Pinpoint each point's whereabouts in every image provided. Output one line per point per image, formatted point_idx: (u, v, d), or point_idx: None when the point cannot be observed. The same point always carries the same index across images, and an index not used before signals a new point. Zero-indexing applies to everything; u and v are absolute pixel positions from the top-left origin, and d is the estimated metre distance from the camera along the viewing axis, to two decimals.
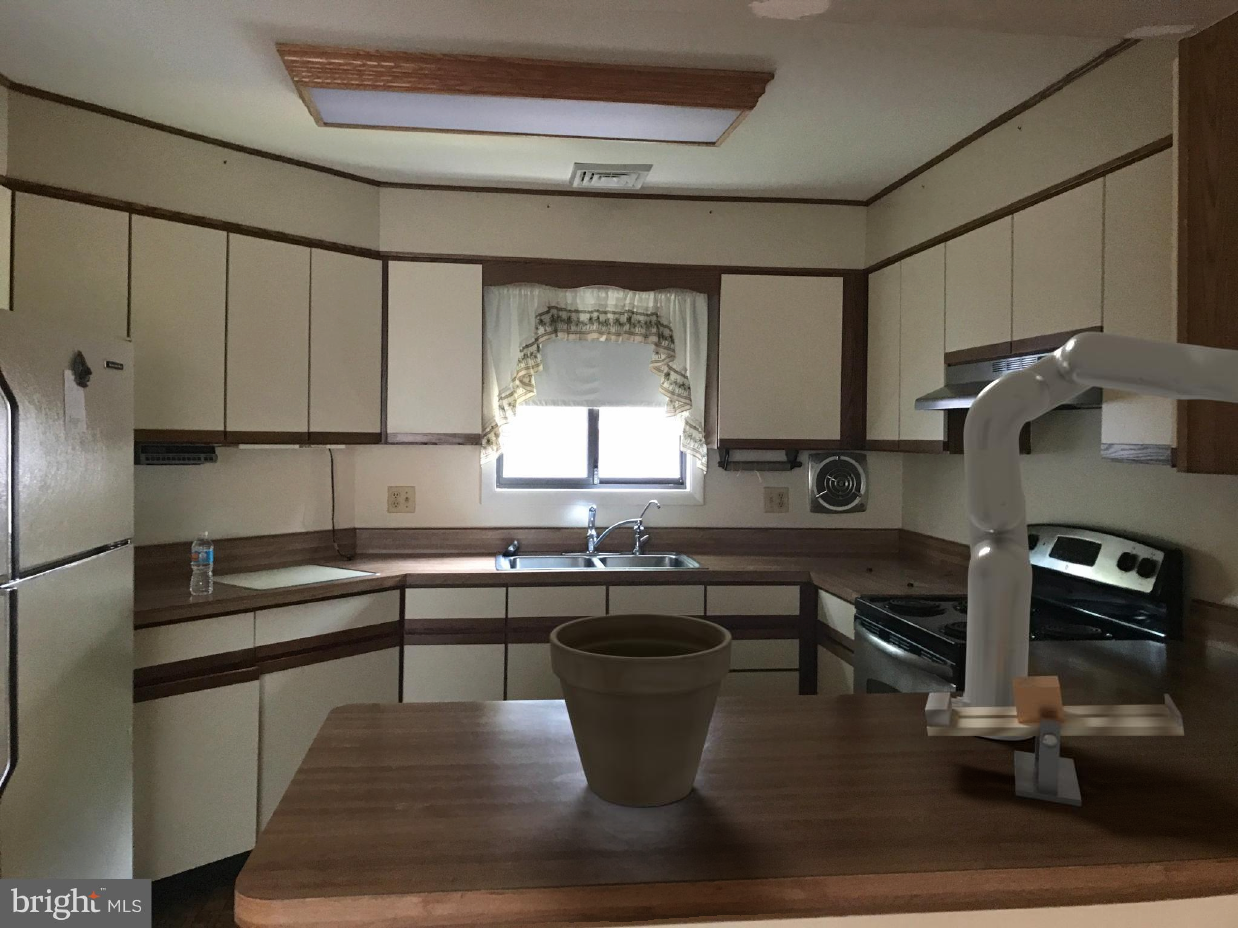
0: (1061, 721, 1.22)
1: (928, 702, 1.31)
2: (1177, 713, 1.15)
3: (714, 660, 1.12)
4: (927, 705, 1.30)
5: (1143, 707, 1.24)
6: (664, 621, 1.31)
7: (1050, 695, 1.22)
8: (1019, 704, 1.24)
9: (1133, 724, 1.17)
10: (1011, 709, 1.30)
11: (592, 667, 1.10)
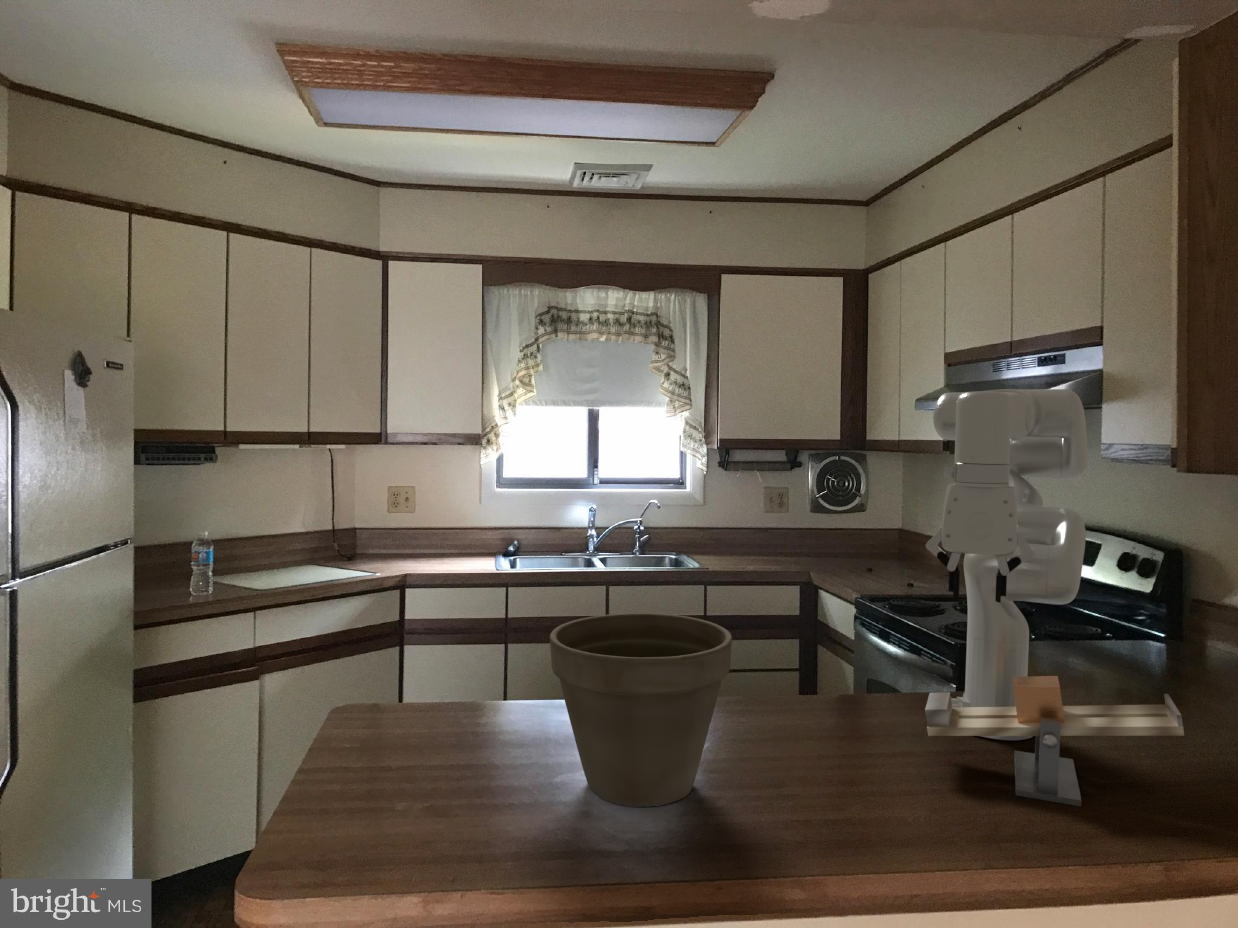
0: (1061, 721, 1.22)
1: (928, 702, 1.31)
2: (1177, 713, 1.15)
3: (714, 660, 1.12)
4: (927, 705, 1.30)
5: (1143, 707, 1.24)
6: (664, 621, 1.31)
7: (1050, 695, 1.22)
8: (1019, 704, 1.24)
9: (1133, 724, 1.17)
10: (1011, 709, 1.30)
11: (592, 667, 1.10)
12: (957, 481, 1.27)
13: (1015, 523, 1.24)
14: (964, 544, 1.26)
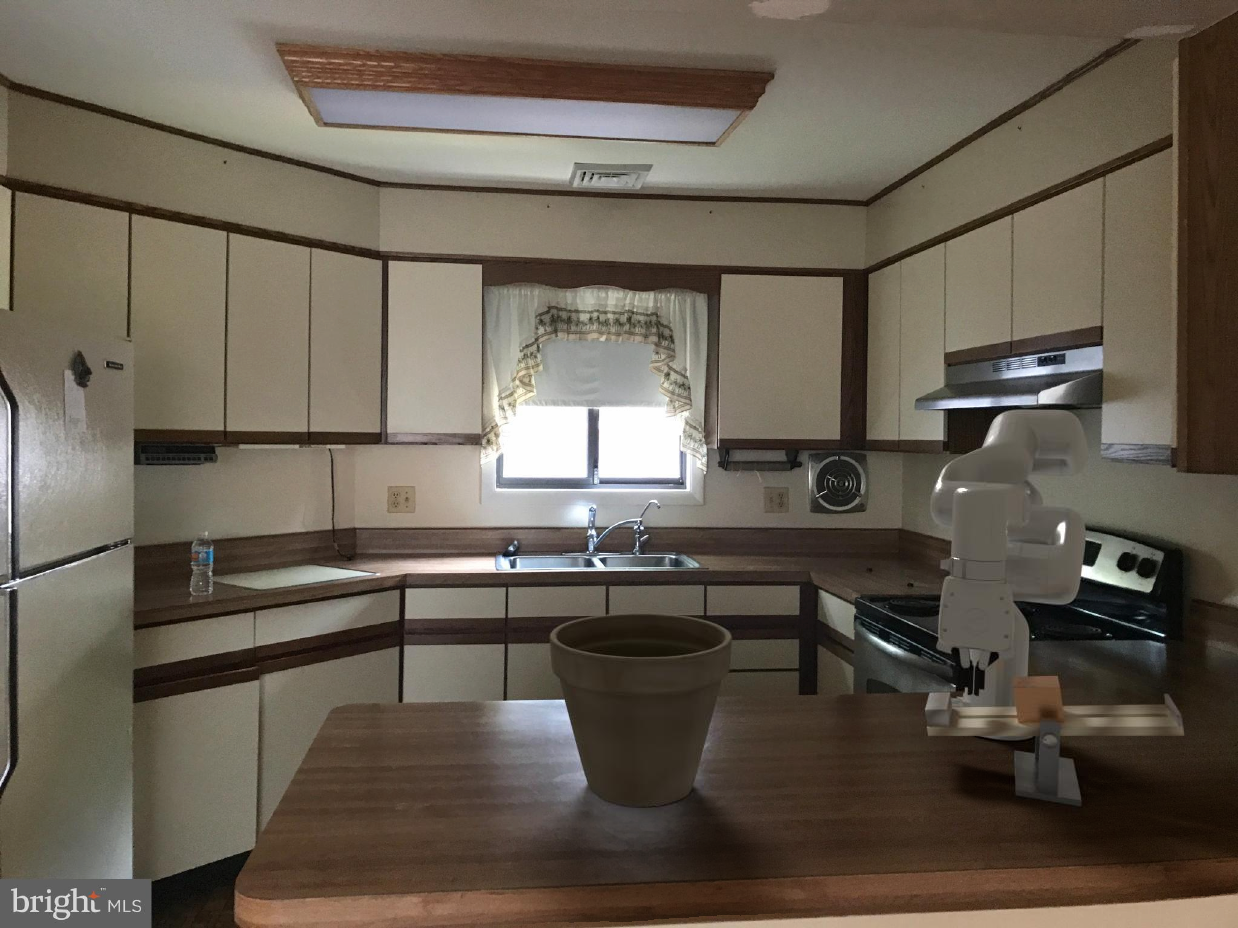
0: (1061, 721, 1.22)
1: (928, 702, 1.31)
2: (1177, 713, 1.15)
3: (714, 660, 1.12)
4: (927, 705, 1.30)
5: (1143, 707, 1.24)
6: (664, 621, 1.31)
7: (1050, 695, 1.22)
8: (1019, 704, 1.24)
9: (1133, 724, 1.17)
10: (1011, 709, 1.30)
11: (592, 667, 1.10)
12: (954, 576, 1.28)
13: (1011, 620, 1.25)
14: (960, 639, 1.27)
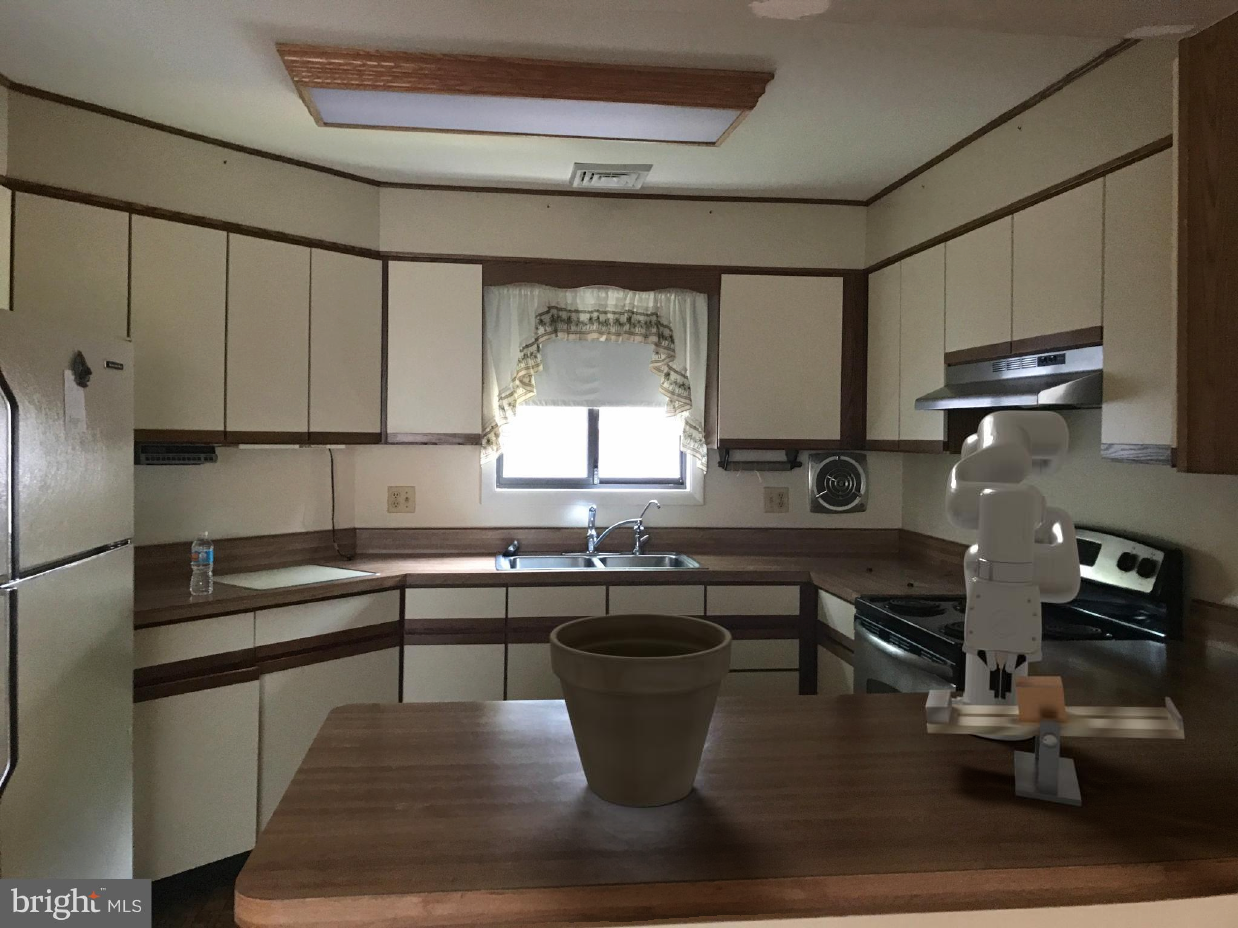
0: (1063, 722, 1.22)
1: (928, 699, 1.31)
2: (1178, 716, 1.15)
3: (714, 660, 1.12)
4: (927, 702, 1.30)
5: (1143, 709, 1.24)
6: (664, 621, 1.31)
7: (1053, 696, 1.22)
8: (1021, 704, 1.24)
9: (1133, 726, 1.17)
10: (1011, 708, 1.30)
11: (592, 667, 1.10)
12: (980, 577, 1.26)
13: (1039, 622, 1.23)
14: (987, 641, 1.26)
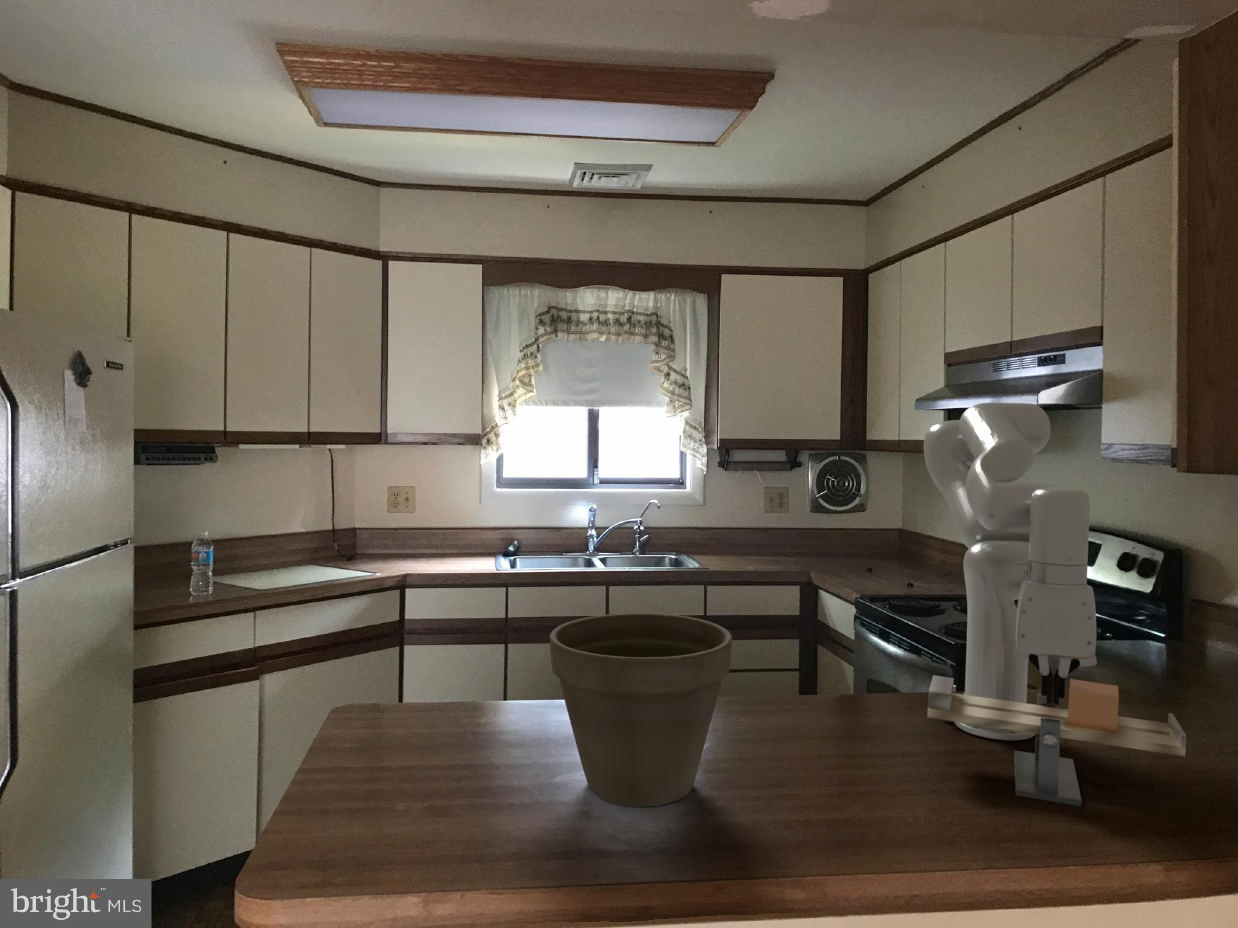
0: (1113, 731, 1.19)
1: (932, 684, 1.31)
2: (1182, 734, 1.15)
3: (714, 660, 1.12)
4: (931, 687, 1.29)
5: (1145, 722, 1.23)
6: (664, 621, 1.31)
7: (1107, 704, 1.19)
8: (1072, 707, 1.21)
9: (1135, 738, 1.17)
10: (1012, 704, 1.30)
11: (592, 667, 1.10)
12: (1032, 580, 1.24)
13: (1094, 626, 1.20)
14: (1040, 645, 1.23)
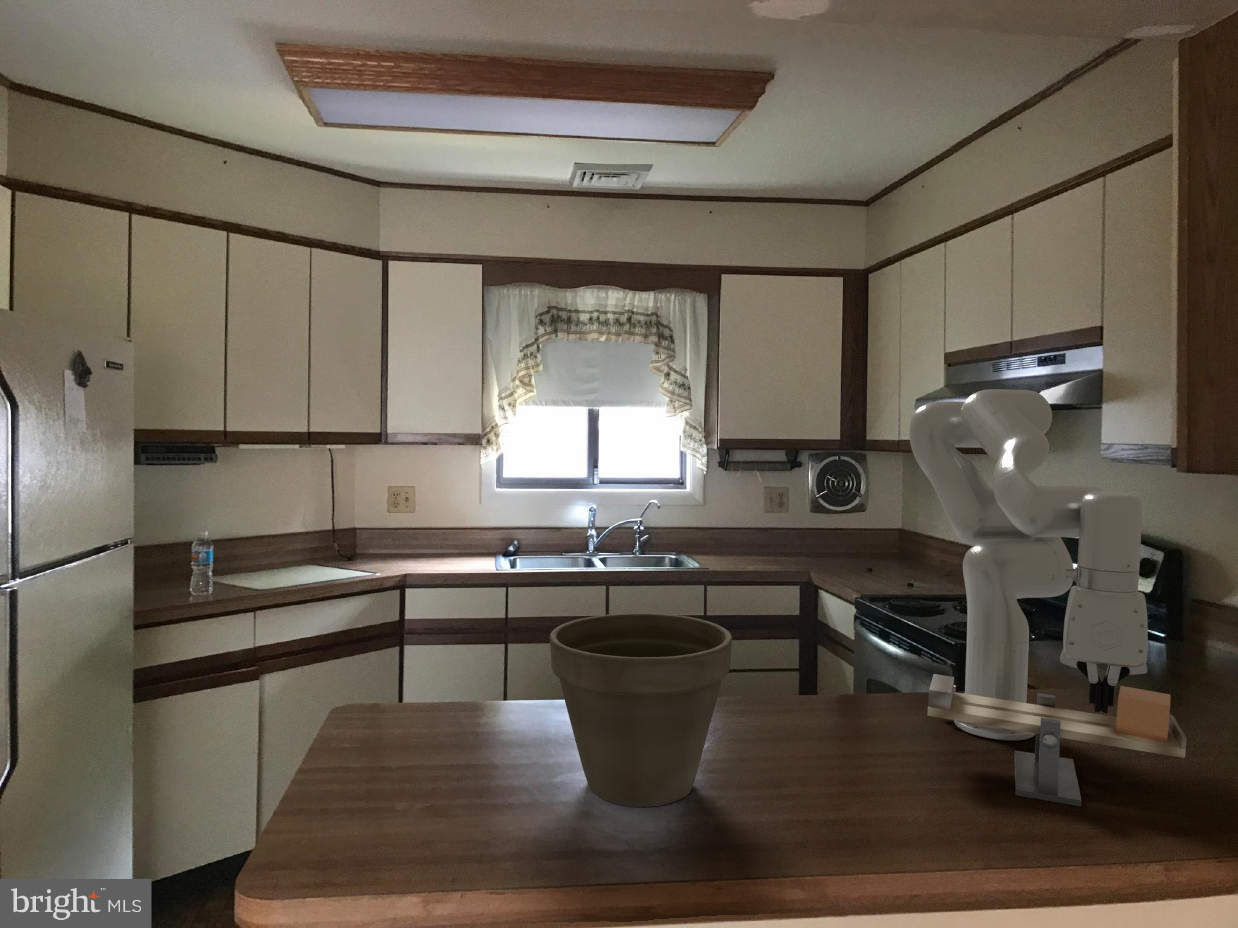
0: (1163, 740, 1.17)
1: (932, 683, 1.31)
2: (1182, 735, 1.15)
3: (714, 660, 1.12)
4: (931, 686, 1.29)
5: None
6: (664, 621, 1.31)
7: (1157, 712, 1.17)
8: (1121, 714, 1.19)
9: (1135, 739, 1.17)
10: (1013, 703, 1.30)
11: (592, 667, 1.10)
12: (1082, 586, 1.21)
13: (1146, 634, 1.18)
14: (1089, 653, 1.20)
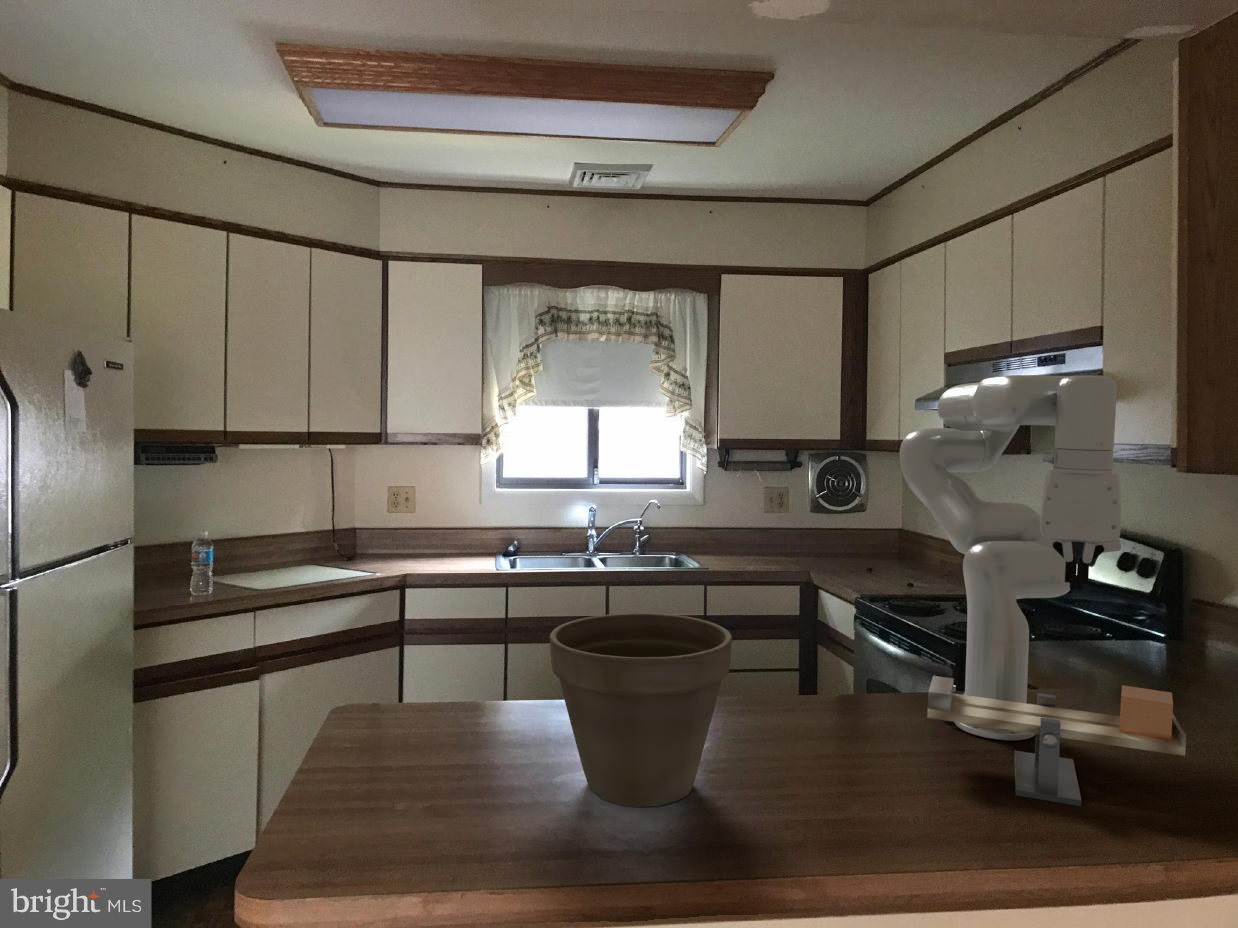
0: (1167, 739, 1.16)
1: (931, 685, 1.31)
2: (1182, 733, 1.15)
3: (714, 660, 1.12)
4: (930, 688, 1.29)
5: None
6: (664, 621, 1.31)
7: (1160, 711, 1.17)
8: (1124, 713, 1.19)
9: (1135, 737, 1.17)
10: (1012, 704, 1.30)
11: (592, 667, 1.10)
12: (1058, 467, 1.25)
13: (1119, 510, 1.21)
14: (1064, 531, 1.24)
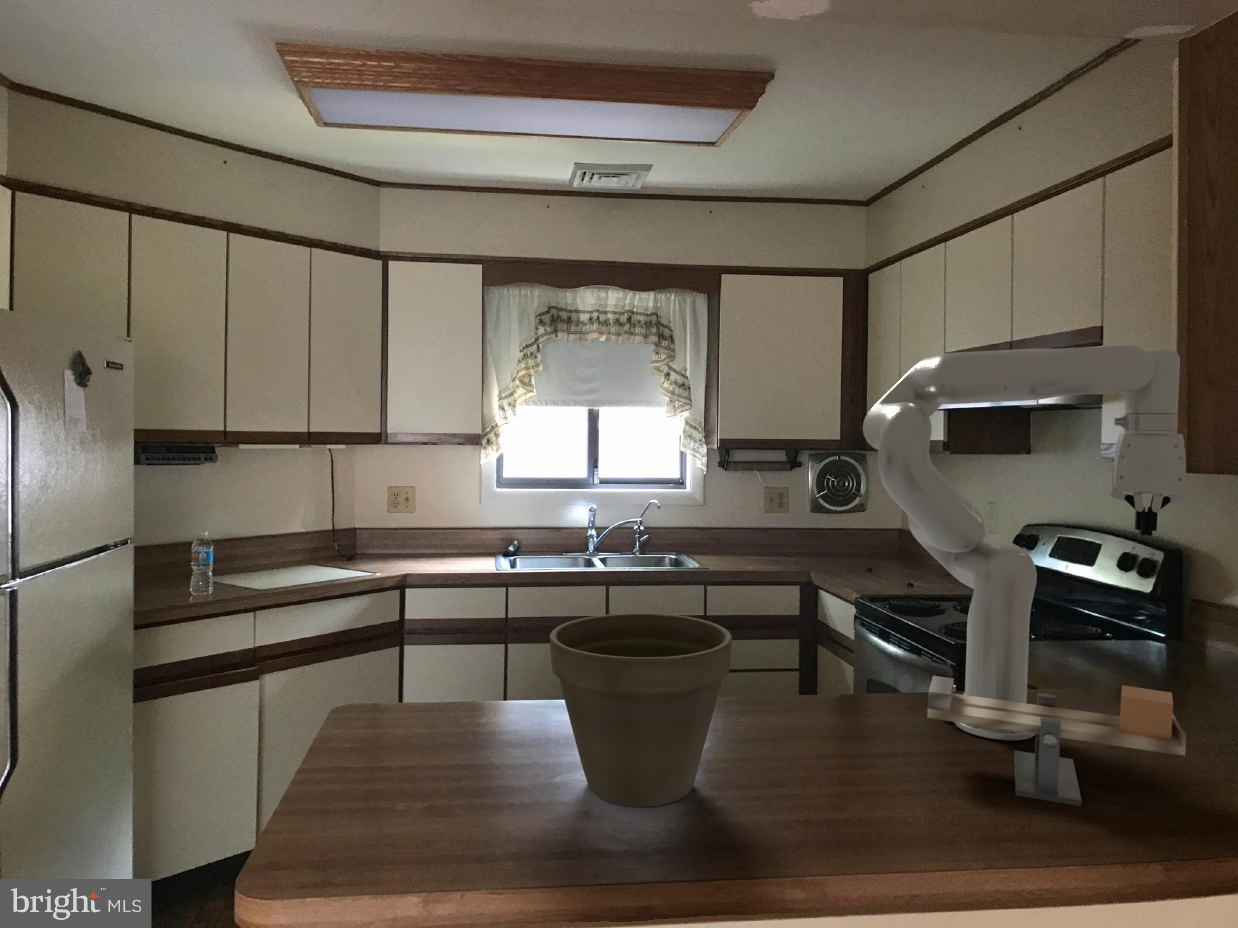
0: (1167, 739, 1.16)
1: (931, 685, 1.31)
2: (1182, 733, 1.15)
3: (714, 660, 1.12)
4: (930, 688, 1.29)
5: None
6: (664, 621, 1.31)
7: (1160, 711, 1.17)
8: (1124, 713, 1.19)
9: (1135, 737, 1.17)
10: (1012, 704, 1.30)
11: (592, 667, 1.10)
12: (1129, 429, 1.44)
13: (1184, 465, 1.41)
14: (1136, 484, 1.43)
